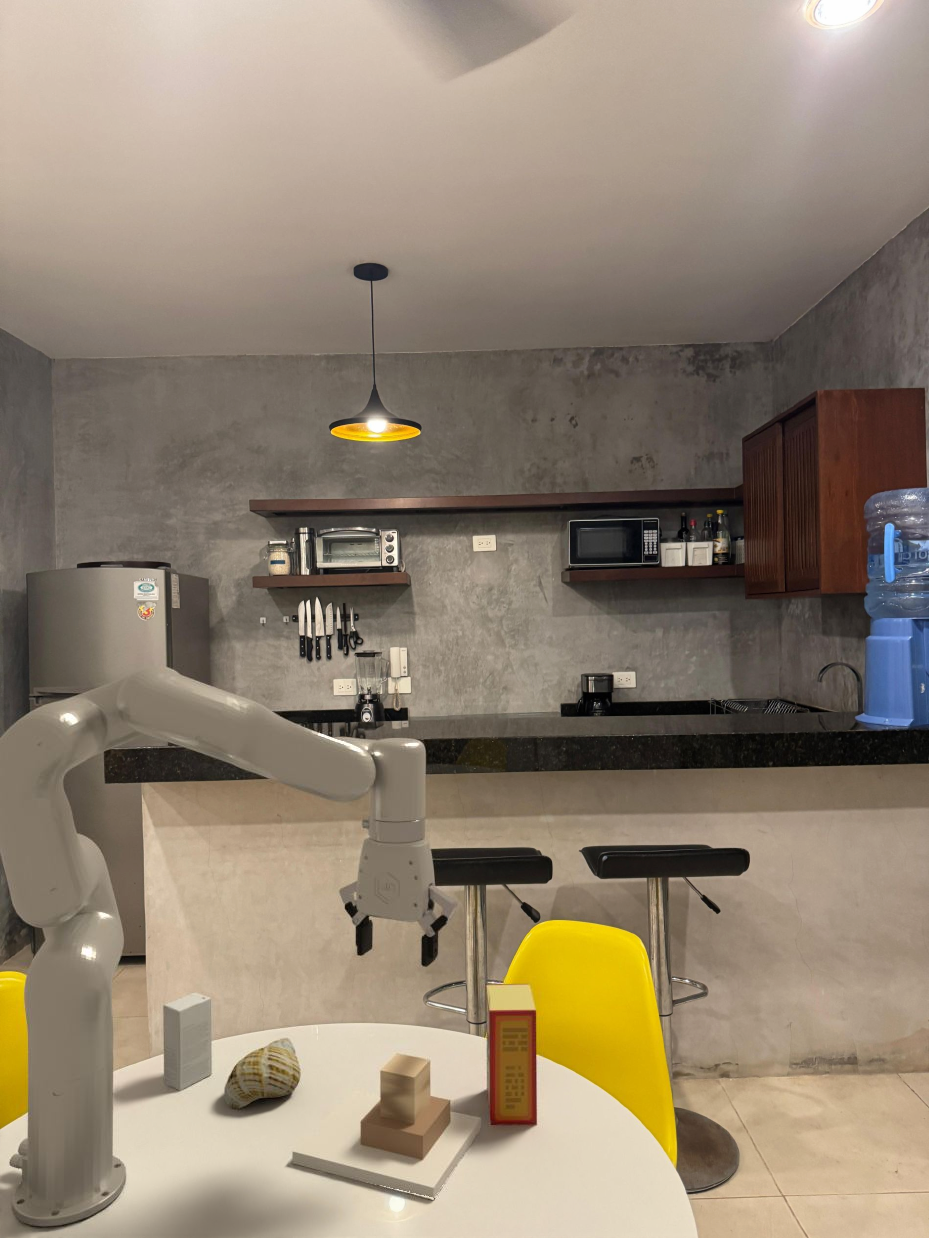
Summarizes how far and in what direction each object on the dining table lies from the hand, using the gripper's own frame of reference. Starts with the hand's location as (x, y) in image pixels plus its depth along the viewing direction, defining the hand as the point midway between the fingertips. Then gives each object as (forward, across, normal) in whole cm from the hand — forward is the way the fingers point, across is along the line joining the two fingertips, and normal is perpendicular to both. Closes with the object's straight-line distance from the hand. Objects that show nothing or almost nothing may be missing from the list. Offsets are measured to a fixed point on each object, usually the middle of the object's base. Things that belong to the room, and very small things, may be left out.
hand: (396, 957), depth 114 cm
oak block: (+20, +2, 0) cm, 20 cm away
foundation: (+25, 0, -1) cm, 25 cm away
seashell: (+25, -24, +4) cm, 35 cm away
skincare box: (+25, -37, +3) cm, 45 cm away
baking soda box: (+25, +12, +14) cm, 31 cm away
